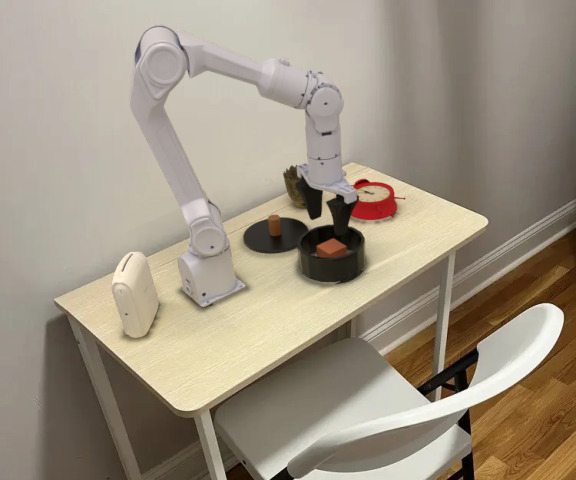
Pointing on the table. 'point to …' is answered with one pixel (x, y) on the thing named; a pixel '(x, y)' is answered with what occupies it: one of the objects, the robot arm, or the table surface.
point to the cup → (293, 186)
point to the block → (331, 249)
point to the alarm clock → (374, 200)
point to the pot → (331, 267)
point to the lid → (274, 234)
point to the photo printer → (135, 294)
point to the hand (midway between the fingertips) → (328, 225)
